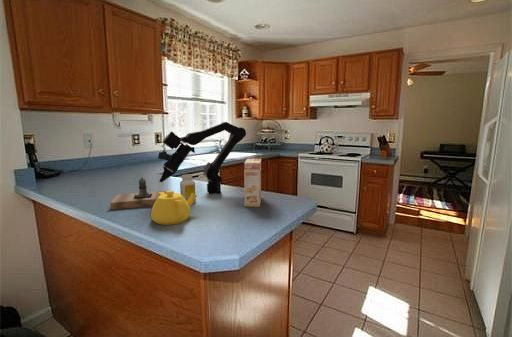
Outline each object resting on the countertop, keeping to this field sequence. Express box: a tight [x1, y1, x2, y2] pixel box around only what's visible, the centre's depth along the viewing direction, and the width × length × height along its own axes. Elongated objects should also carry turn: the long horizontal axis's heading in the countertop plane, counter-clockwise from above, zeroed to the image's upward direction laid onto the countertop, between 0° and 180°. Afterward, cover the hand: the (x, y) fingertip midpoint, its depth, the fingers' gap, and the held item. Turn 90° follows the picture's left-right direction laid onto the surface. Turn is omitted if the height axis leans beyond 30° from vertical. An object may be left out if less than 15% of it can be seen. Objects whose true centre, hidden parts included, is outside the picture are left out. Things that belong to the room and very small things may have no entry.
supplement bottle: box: [179, 173, 197, 204], centre depth 120 cm, size 7×7×13 cm
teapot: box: [150, 190, 198, 226], centre depth 101 cm, size 20×18×11 cm
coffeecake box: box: [243, 158, 262, 208], centre depth 121 cm, size 15×7×20 cm, turn 176°
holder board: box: [110, 190, 168, 210], centre depth 121 cm, size 24×14×3 cm, turn 107°
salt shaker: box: [137, 177, 150, 199], centre depth 121 cm, size 6×6×12 cm
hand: (161, 181), depth 126 cm, fingers open, 9 cm apart
